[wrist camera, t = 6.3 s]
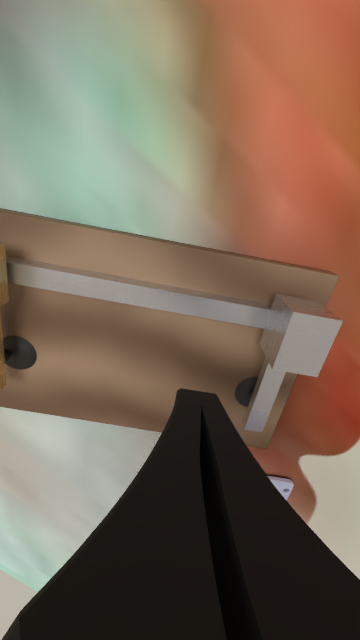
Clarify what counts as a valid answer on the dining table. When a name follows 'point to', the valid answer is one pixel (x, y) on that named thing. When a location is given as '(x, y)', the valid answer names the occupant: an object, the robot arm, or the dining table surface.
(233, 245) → the dining table surface
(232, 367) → the slide rail board
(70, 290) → the trammel
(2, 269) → the block
